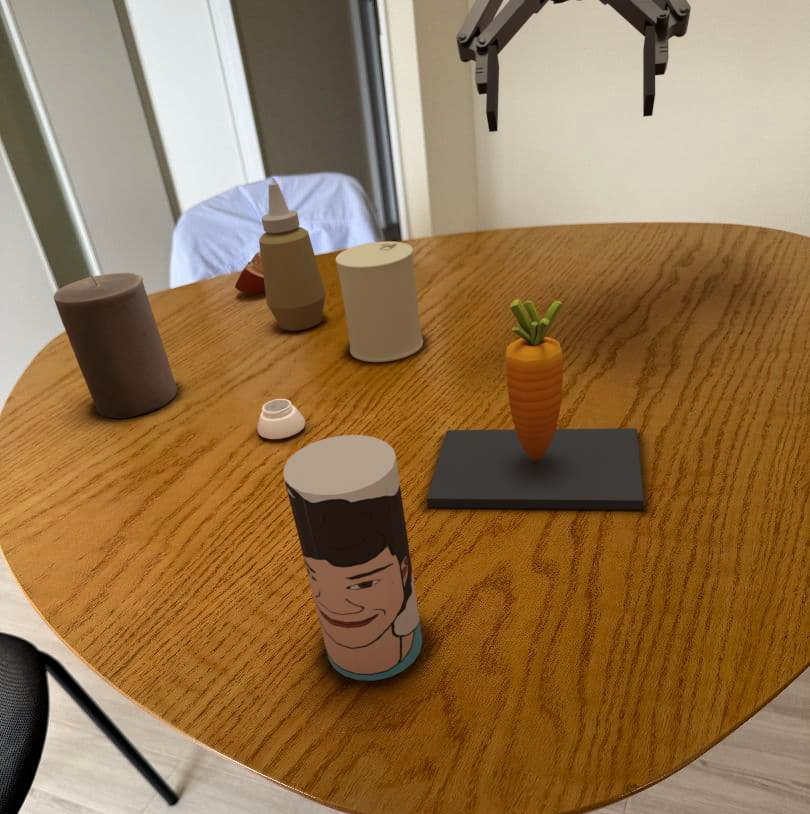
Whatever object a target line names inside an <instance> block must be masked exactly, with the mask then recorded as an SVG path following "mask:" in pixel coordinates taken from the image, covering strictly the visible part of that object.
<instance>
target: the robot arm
mask: <svg viewBox="0 0 810 814" xmlns="http://www.w3.org/2000/svg"><path fill="white" fill-rule="evenodd" d="M549 1H551V2H553V5H557V4H563V3H565V2H568V1H570V0H509V1H507V3H506V4H505V5H504V6H503V7H502V9H501V10H500V8H501V6H502V4H503V3H504V0H475V1H474V3H473V5H472V7H471V8H470V11H469V12H468V14H467V16H466V17H465V19H464V21H463V22H462V25H461V27H460V29H459V31H458V32H457V34H456V37H455V39H456V45H457V50H458V56H459V60H460V62H462V63H468V62H470V61H473V62H474V63H475V70H474V71H475V72H474V73H475V76H474V81H475V85H476V86H475V87H476V91H477V93H478V95H486V99H485V100H486V102H485V104H486V105H485V115H486V121H487V126H488V127H487V128H488V132H489V133H492V132H493V133H494V132H498V130H499V129H498V128H499V127H498V123H499V91H500V87H499V85H500V62H499V54H500V53H501V52H502V51H503V50H504V48H505V47H506V46H507V45H508V44H509V42H511V40H512V39H513V38H514V37H515V36H516V35H517V33H518V32H519V31H520V30H521V29H522V28H523V27H524V25H525V24H526V23H527V22H528V21H529V19H530V18H531V17H532V16H533V15H534V14H535V15H537V14H538V13H540V11H542V9H543V8H544V7H545V5H547V3H548V2H549ZM577 1H578V2H580V1H582V0H577ZM598 1H599V2H600V3H601V4H602V5H604V6H607V5H608V6H610V7H611V8H612V9H613V10H614V11H615V12H616V13H618V14H619V15H620V16H621V17H622V18H623V19H624V20H625V21H626V22H627V23H628V24H629V25H631V26H632V27H633V28H634V29H635V30H636V31H638V33H640V35H642V36H643V37H644V39H643V47H642V48H643V49H642V66H643V67H642V68H643V69H642V78H643V79H642V84H643V85H642V89H643V90H642V101H643V102H642V108H643V109H642V113H643V115H642V117H644V118H645V117H652V116H653V112H654V105H655V98H656V76H664V75H665V74H666V72H667V68H668V63H669V40H670V39H671V38H673V37H676V38H681V37H682V38H683V37H684V36H685V35H686V34H687V32H688V27H689V21H690V17H691V11H692V10H691V9H692V8H691V5H690V3H689V2H688V0H598ZM499 10H500V11H499Z"/></svg>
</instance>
